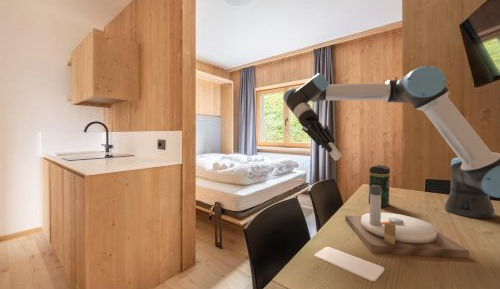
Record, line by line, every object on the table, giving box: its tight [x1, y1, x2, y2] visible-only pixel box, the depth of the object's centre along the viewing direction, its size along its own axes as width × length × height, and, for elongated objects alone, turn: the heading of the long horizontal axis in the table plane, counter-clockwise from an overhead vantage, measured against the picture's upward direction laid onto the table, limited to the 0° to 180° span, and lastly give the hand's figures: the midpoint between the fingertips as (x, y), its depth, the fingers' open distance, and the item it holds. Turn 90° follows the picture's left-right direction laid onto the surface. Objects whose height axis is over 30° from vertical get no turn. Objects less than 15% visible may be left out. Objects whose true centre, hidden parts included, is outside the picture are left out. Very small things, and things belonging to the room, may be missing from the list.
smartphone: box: [314, 246, 385, 282], centre depth 57 cm, size 7×1×15 cm
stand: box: [344, 215, 470, 259], centre depth 72 cm, size 24×24×7 cm
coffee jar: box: [368, 164, 391, 208], centre depth 107 cm, size 10×8×19 cm
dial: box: [360, 185, 438, 243], centre depth 72 cm, size 20×20×14 cm
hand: (338, 157), depth 82 cm, fingers closed
